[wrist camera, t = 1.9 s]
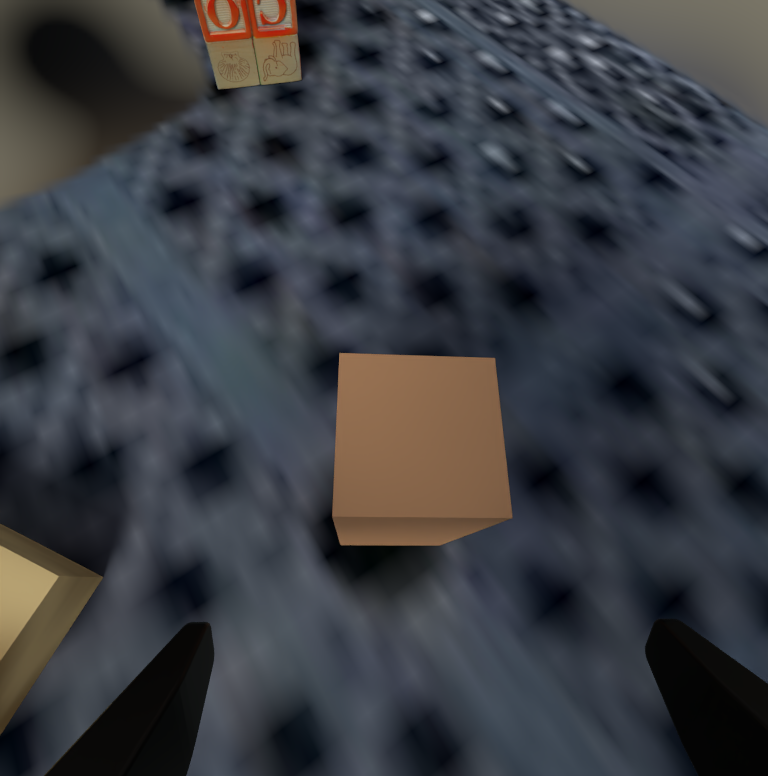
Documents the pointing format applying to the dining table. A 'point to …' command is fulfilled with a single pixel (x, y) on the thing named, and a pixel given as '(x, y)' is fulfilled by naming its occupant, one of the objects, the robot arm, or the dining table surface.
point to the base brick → (34, 612)
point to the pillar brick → (418, 449)
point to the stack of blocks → (251, 41)
